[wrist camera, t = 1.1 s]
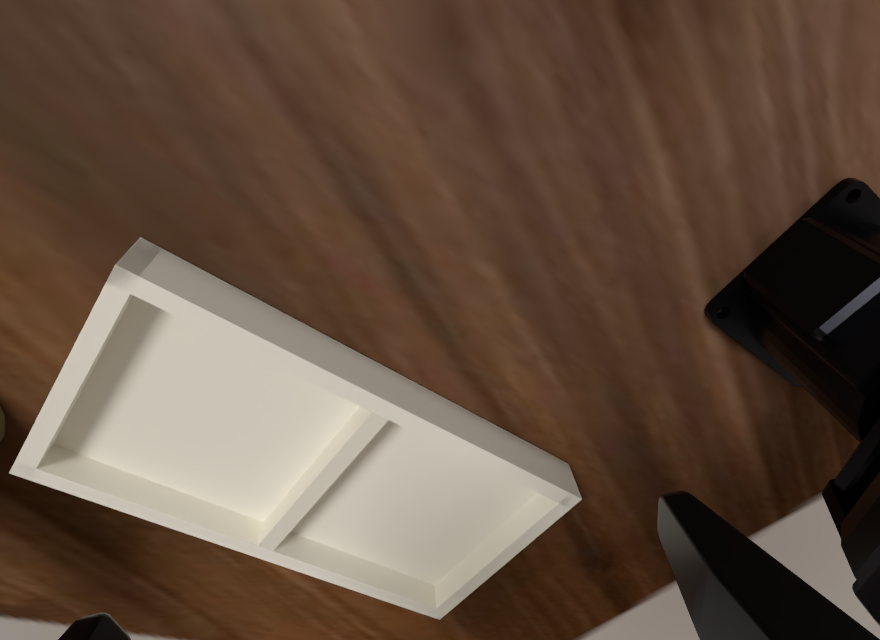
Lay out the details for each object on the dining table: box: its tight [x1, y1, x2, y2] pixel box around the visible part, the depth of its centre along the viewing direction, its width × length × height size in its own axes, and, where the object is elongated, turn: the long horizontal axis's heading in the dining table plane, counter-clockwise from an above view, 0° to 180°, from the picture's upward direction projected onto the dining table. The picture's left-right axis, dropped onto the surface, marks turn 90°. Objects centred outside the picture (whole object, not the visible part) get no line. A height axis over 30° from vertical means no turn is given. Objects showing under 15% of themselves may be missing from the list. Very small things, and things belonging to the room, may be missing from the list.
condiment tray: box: [9, 237, 582, 620], centre depth 23 cm, size 19×10×2 cm, turn 53°
